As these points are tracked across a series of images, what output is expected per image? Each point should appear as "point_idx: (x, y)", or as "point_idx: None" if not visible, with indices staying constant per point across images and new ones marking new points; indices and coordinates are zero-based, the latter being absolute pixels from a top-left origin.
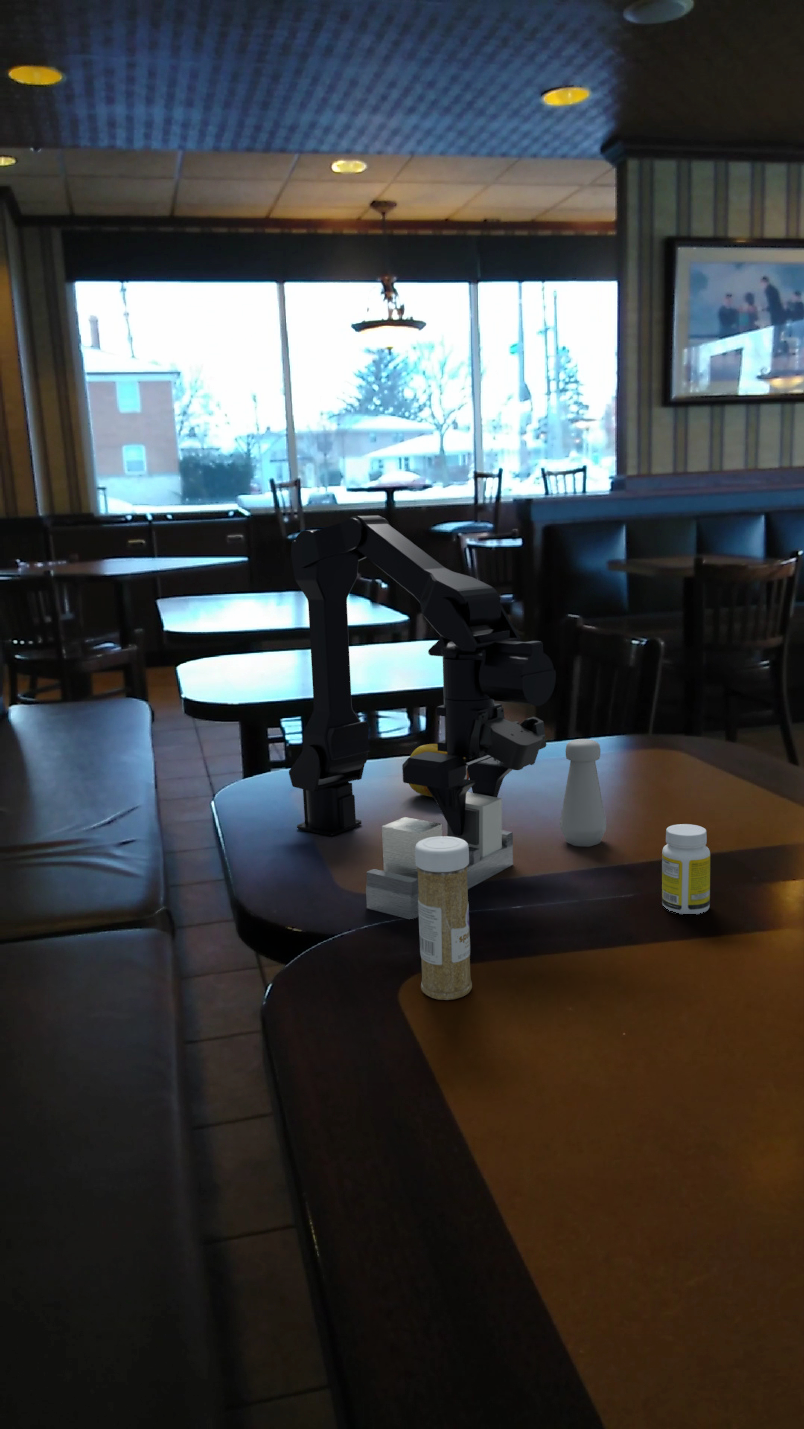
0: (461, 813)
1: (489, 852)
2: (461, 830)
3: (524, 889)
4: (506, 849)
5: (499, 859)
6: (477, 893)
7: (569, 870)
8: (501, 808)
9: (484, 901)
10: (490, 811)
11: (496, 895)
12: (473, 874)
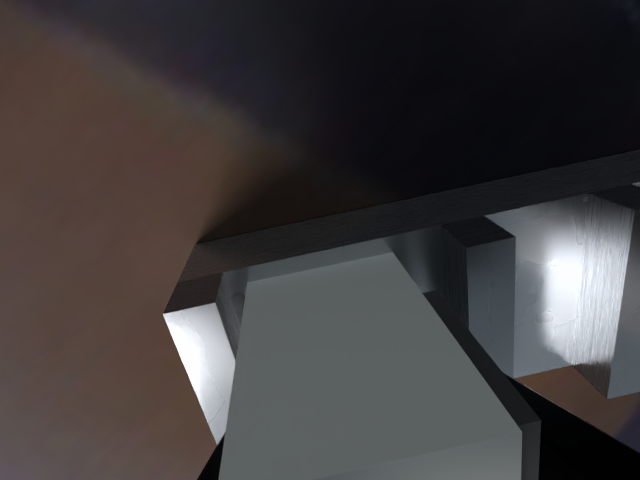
0: (613, 448)
1: (344, 264)
2: (509, 377)
3: (362, 21)
4: (231, 266)
5: (288, 242)
6: (496, 132)
7: (46, 27)
8: (233, 424)
9: (548, 54)
10: (383, 403)
11: (476, 64)
12: (469, 201)
